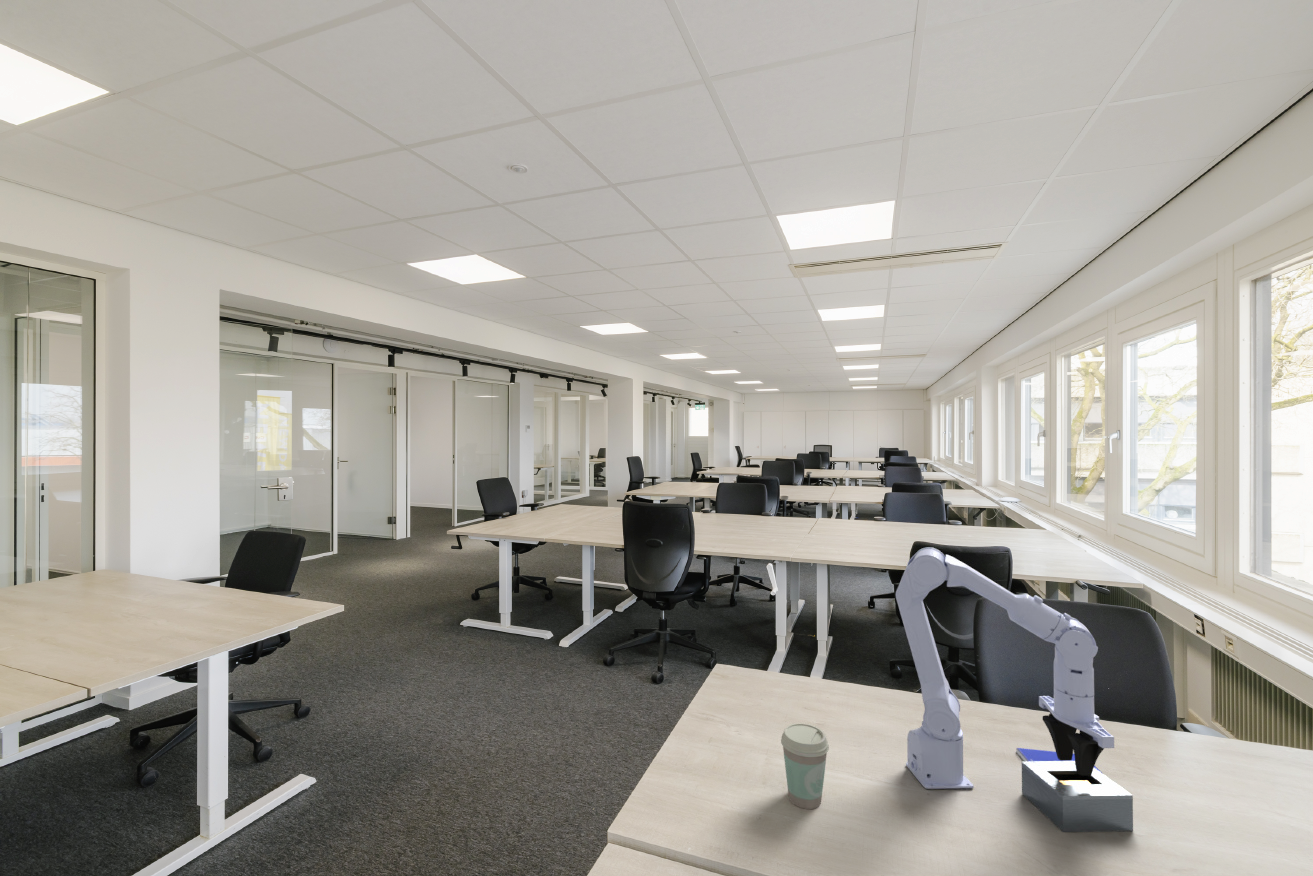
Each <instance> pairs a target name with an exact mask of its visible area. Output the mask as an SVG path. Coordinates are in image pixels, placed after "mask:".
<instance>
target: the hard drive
mask: <svg viewBox="0 0 1313 876" xmlns="http://www.w3.org/2000/svg"><path fill="white" fill-rule="evenodd" d="M1016 754H1017V755H1018V756H1019V757H1020V758H1021V759H1022V760H1023V761H1061V760H1059V759H1058V757H1057V754H1056V751H1051V750H1041V749H1033V748H1023V747H1022V748H1021V747H1016ZM1062 761H1075V755H1074V753H1073V756H1072V760H1062ZM1094 768H1095V769H1097V770H1098V771H1100V772H1101V773H1102V774H1104V773H1103V772H1102V771H1101V770H1100V769H1099V768H1098V767H1096V765H1094Z"/></svg>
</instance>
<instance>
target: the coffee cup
mask: <svg viewBox="0 0 1313 876" xmlns="http://www.w3.org/2000/svg"><path fill="white" fill-rule="evenodd" d="M780 744H781V745H782V749H783V759H784V768H785V776H786V785H787V793H788V799H789V801H791V803H792V804H793V805H795V806H797V807H798V808H801V809H805V810H806V809H807V810H812V809H816V808H818V807H820V805H821V804H822V799H823V790H824V782H825V781H824V780H825V772H826V763H827V755H828V751H829V750H830V746H829V740H828V739H827V736H826V733H825V732H824V731H823V730H822V729H821V728H819V727H817V726H816V725H814V724H809V723H804V722H803V723H801V722H799V723H798V722H797V723H796V722H795V723H791V724H788V725H786V726H785V728H784V730H783V733H782V734H781V739H780Z"/></svg>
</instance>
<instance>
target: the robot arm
mask: <svg viewBox="0 0 1313 876" xmlns="http://www.w3.org/2000/svg"><path fill="white" fill-rule="evenodd" d="M945 581H946V587H948V588H952V587H953V588H955V587H963V588H964V587H965V588H966V589H969V590H970V591H972V592H974V593H975V594H978V595H979V596H981V597H982V598H984V599H987V600H988V601H990V602H992V603H993V604H996V605H998V606H999V607H1001V608H1003V609H1005V610H1006V613H1007V615H1008V619H1009V620H1010V621H1012V623H1013V622H1014V623H1015V624H1017V625H1018V626H1020V627H1022V628H1024V630H1027V631H1028V632H1029V633H1032V634H1034V635H1035V636H1036V637H1038V638H1040V639H1042V640H1044V641H1045V642H1048V643H1053V644H1055V645H1054V660H1053V697H1051V696H1050V695H1040V696H1038V706H1039V707H1040V708H1042V709H1046V710H1048V711H1049V714H1048V715H1047V714H1046V715H1045V714H1044V715H1043V716H1042V721H1043V723H1044V724H1045V726H1046V728H1047V730H1048V732H1049V735H1050V737H1051V739H1052V740H1051V741H1052V744H1053V745H1054V750H1055V752H1056V754H1057V757H1058V759H1059V760H1061V761H1062V760H1072V756H1073V754H1074V755H1075V766H1076V771H1077V773H1078V774H1079V775H1081V776H1091V775H1092V772H1093V768H1094V766H1096V763H1097V760H1098V758H1099V756H1100V755H1101V753H1102V752H1103V750H1105V749H1115V736H1114V735H1112V734H1111V733H1110V732H1108V731H1107V730H1106V729H1105V728H1104V726H1102V724H1100V722H1099V721H1100V716H1098V715H1097V714H1095V668H1094V667H1093V666H1094V665H1093V663H1094V657H1096V655H1097V653H1098V651H1099V650H1098V649H1099V647H1098V646H1097V642H1096V640H1095V638H1094V636H1093V634H1092V633H1091V632H1090V631H1089V629H1088V628H1087V627H1086V625H1084V624H1083V623H1082V622H1080V621H1079V620H1078V619H1077V618H1075V617H1072V616H1071V615H1070V614H1068V613H1066V612H1064V613H1061V612H1059V611H1057V610H1056V609H1054V608H1052V607H1050V606H1048V605H1047V604H1045V603H1043V602H1044V599H1043V598H1041V597H1040V596H1038V595H1036V594H1035V595H1034V596H1032V595H1029V594H1028V593H1023V594H1022V593H1021V594H1015V593H1013V592H1011V591H1010V590H1008V589H1006V588H1005V587H1004V586H1001V585H1000V584H999V583H996V582H995V581H993V580H992V579H990V578H989V577H987V576H985V575H984V574H982V573H980V572H979V571H978V570H976V569H974V568H972V567H971V566H969V565H968V564H966V563H964V562H963V561H960V560H959V559H957V558H956V557H954V556H951V555H949V554H944V553H943V552H941V550H939V549H937V548H936V547H935V548H934V547H929V546H928V547H923V548H921V549H919V550H917V552H915V554H914V555H912V557H911V558H910V559H909V560H908V562H907V564H906V567H905V569H904V572H903V573H902V576H901V579H900V582H899V584H898V586H897V588H896V591H895V599H896V603H897V606H898V609H899V614H900V617H901V620H902V623H903V626H904V627H903V628H904V630H905V634H906V638H907V640H908V641H907V642H908V645H909V647H910V652H911V655H912V658H913V659H912V660H913V663H914V665H915V669H916V672H917V676H918V680H919V683H920V689H921V697H922V703H923V705H924V711H923V716H922V722H921V726H920V727H917V728H915V729H911V730H909V731H908V733H907V739H906V740H907V742H906V743H907V761H906V762H905V766H906V767H907V768H908V770H909V771H910V772H911V773H912V775H914V777H915V778H916V779H917V781H919V783H920V784H921V785H922V786H923V788H925V789H926V790H927V789H929V790H931V789H932V790H935V789H938V790H939V789H941V790H942V789H973V788H974V784H973V782H971V781H970V780H969V779H968V778H967V777H966V776H965V775H964V731H963V730H962V728H961V727H962V726H961V720H960V712H961V704H960V700H959V699H958V697H957V696H956V694H954V692H953V691H952V689H951V687H950V684H949V681H948V680H947V678H946V676H945V672H944V669H943V666H942V662H941V658H940V655H939V652H938V648H937V644H936V641H935V638H934V634H933V632H932V628H931V625H930V621H929V617H928V614H927V611H926V608H925V604H924V599H926V597H927V596H928V594H929V593H930V592H931V591H933V590H935V589H937V588H938V587H939V586H941V585H942V584H944V582H945ZM1077 730H1078V731H1079V732H1077Z"/></svg>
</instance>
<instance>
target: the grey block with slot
mask: <svg viewBox="0 0 1313 876" xmlns="http://www.w3.org/2000/svg"><path fill="white" fill-rule="evenodd" d="M1100 771H1101V770H1100ZM1100 771H1098V770H1097V769H1095V768H1093V772H1092V775H1091V776H1081V775H1079V774H1078V773H1077V771H1076V766H1075V761H1024V760H1023V761H1021V794H1022V795H1023V797H1025V798H1026V800H1028V801H1029V802H1030V803H1031V804H1032V805H1033V806H1034V807H1036V809H1038V810H1039V811H1040V812H1041V813H1042V814H1043V815H1044V816H1045V817H1046V818H1048V819H1049V820H1050V821H1051V822H1052V823H1053V824H1054V825H1055V827H1056V826H1057V828H1058V829H1059V830H1060V831H1061V832H1062V833H1083V832H1084V833H1088V832H1090V833H1091V832H1092V833H1093V832H1094V833H1095V832H1133V831H1134V806H1133V805H1134V800H1133V799H1134V797H1133V794H1131V793H1130V792H1129V791H1128V790H1127V789H1125V788H1123V787H1122V786H1121V785H1119V784H1118V783H1116V782H1115V781H1113V779H1111V778H1109V777H1108V776H1107V775H1105V774H1104V773H1103V772H1102V771H1101V772H1102V773H1103V774H1102V773H1101V772H1100ZM1060 781H1088V782H1089V783H1090V784H1089V785H1063V784H1062V783H1061V782H1060Z"/></svg>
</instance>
